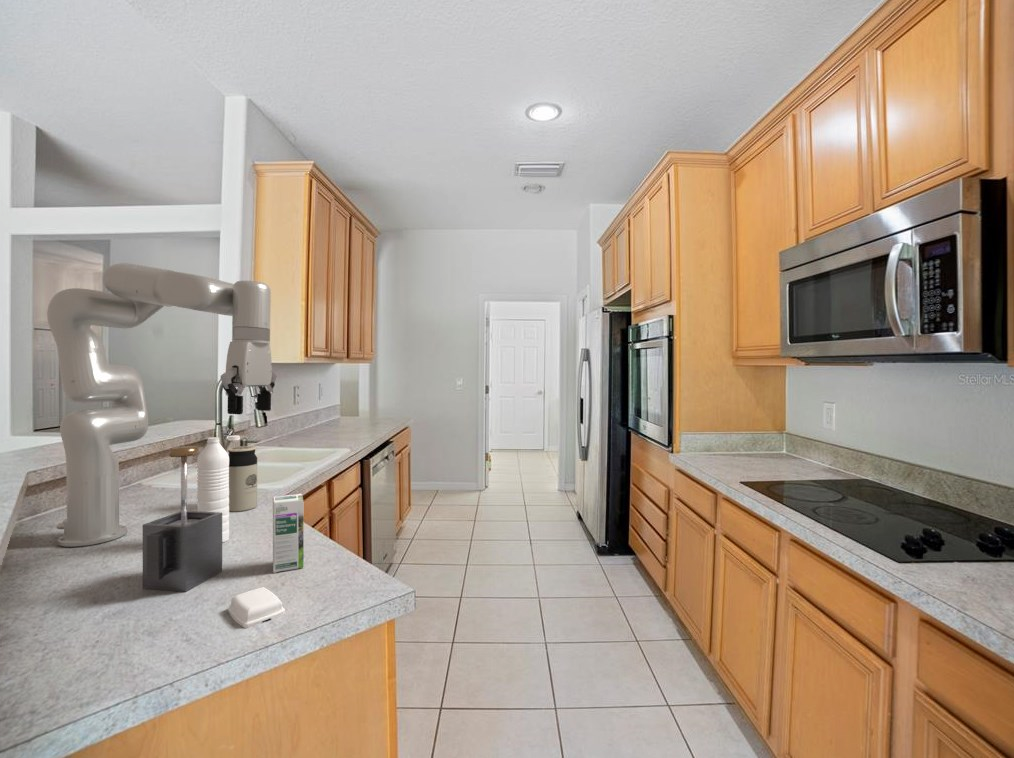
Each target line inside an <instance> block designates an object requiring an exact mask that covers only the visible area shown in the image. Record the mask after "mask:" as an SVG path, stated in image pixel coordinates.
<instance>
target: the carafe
mask: <svg viewBox="0 0 1014 758" xmlns="http://www.w3.org/2000/svg"><path fill="white" fill-rule="evenodd" d="M187 519H199V520H198V521H196V522H193V523H191V524H188V525H186V526H185V525H167V524H170V523H173V522H175V521H178V520H181V510H180V511H178V512H175V513H172V514H168V515H167V516H163V517H161V518H158V519H154V520H151V521H149V522H146V523H144V524H142V589H143V590H156V591H158V590H159V591H170V592H181V593H182V592H183V593H187V592H189V591H191V590H192V589H194V588H196V587H197V586H199V585H201V584H203V583H204V582H206V581H209V580H210V579H211V578H213V577H215V576H217V575H218V574H220V573H222V572H223V542H222V513H220V512H201V511H197V510H187Z"/></svg>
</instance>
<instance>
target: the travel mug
mask: <svg viewBox="0 0 1014 758" xmlns="http://www.w3.org/2000/svg"><path fill="white" fill-rule="evenodd" d="M256 450H257V447H256V446H253V445H242V446H233V447H229V448H227V451H228V455H229V512H234V513H235V512H236V513H238V512H247V511H250V510H253V509H255V508H256V507H257V506H258V457H257V454H256Z"/></svg>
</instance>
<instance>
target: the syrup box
mask: <svg viewBox="0 0 1014 758" xmlns="http://www.w3.org/2000/svg"><path fill="white" fill-rule="evenodd" d="M304 508H305V507H304V497H303V494H302V493H297V494H287V495H277V496H273V497H272V572H273V574H276V573H279V572H287V571H292V570H297V569H303V568H304V563H305V561H304V558H305V556H304V553H305V552H304V546H305V545H304V541H305V540H304V527H305V525H304V522H305V521H304V520H305V519H304V512H305V511H304Z"/></svg>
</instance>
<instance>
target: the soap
mask: <svg viewBox="0 0 1014 758" xmlns="http://www.w3.org/2000/svg"><path fill="white" fill-rule="evenodd" d="M227 609H228V613H229V615H230V616H231V618H232V619H233V620H234V622H236V624H238V625H240V626H241V627H242V628H244V629H248V628H252V627H255V626H257V625H261V624H263V622H265V621H266V620H269V619H270V620H271V621H272V620H275V619H277V618H279V617H281V616H283V615H285V614H286V609H285V608H284V607H283V603H282V600H280V598H279V597H278V596H277V595H276V594H274V593H273V592H272V591H271V590H269V589H267V588H266V587H265V586H264V587H262V586H261V587H259V588H255V589H252V590H248V591H245V592H242V593H240V594H237V595H236V594H235V595H234V596H233V597H232V598H231V600H230V605H229V606H228V607H227Z"/></svg>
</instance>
